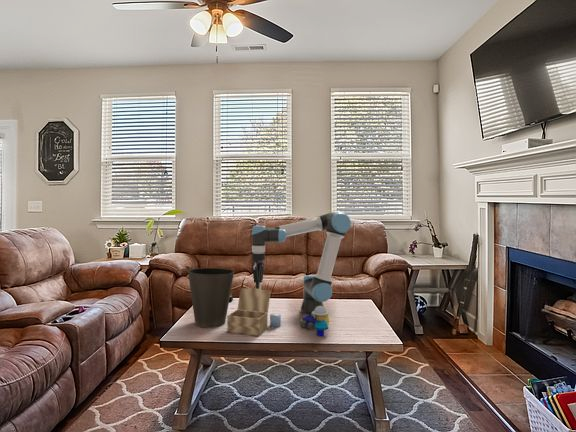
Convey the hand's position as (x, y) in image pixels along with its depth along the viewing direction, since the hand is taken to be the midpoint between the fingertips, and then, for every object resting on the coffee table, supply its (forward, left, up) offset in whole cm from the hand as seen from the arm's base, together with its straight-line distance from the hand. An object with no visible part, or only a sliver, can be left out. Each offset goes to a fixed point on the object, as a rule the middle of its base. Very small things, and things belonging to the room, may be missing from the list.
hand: (258, 293), depth 209 cm
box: (0, +15, -17) cm, 22 cm away
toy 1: (-32, -5, -17) cm, 37 cm away
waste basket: (+25, +10, -17) cm, 32 cm away
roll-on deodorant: (-11, +2, -17) cm, 20 cm away
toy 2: (-38, +8, -17) cm, 42 cm away
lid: (0, +7, -2) cm, 7 cm away
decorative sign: (+49, -35, -17) cm, 63 cm away
